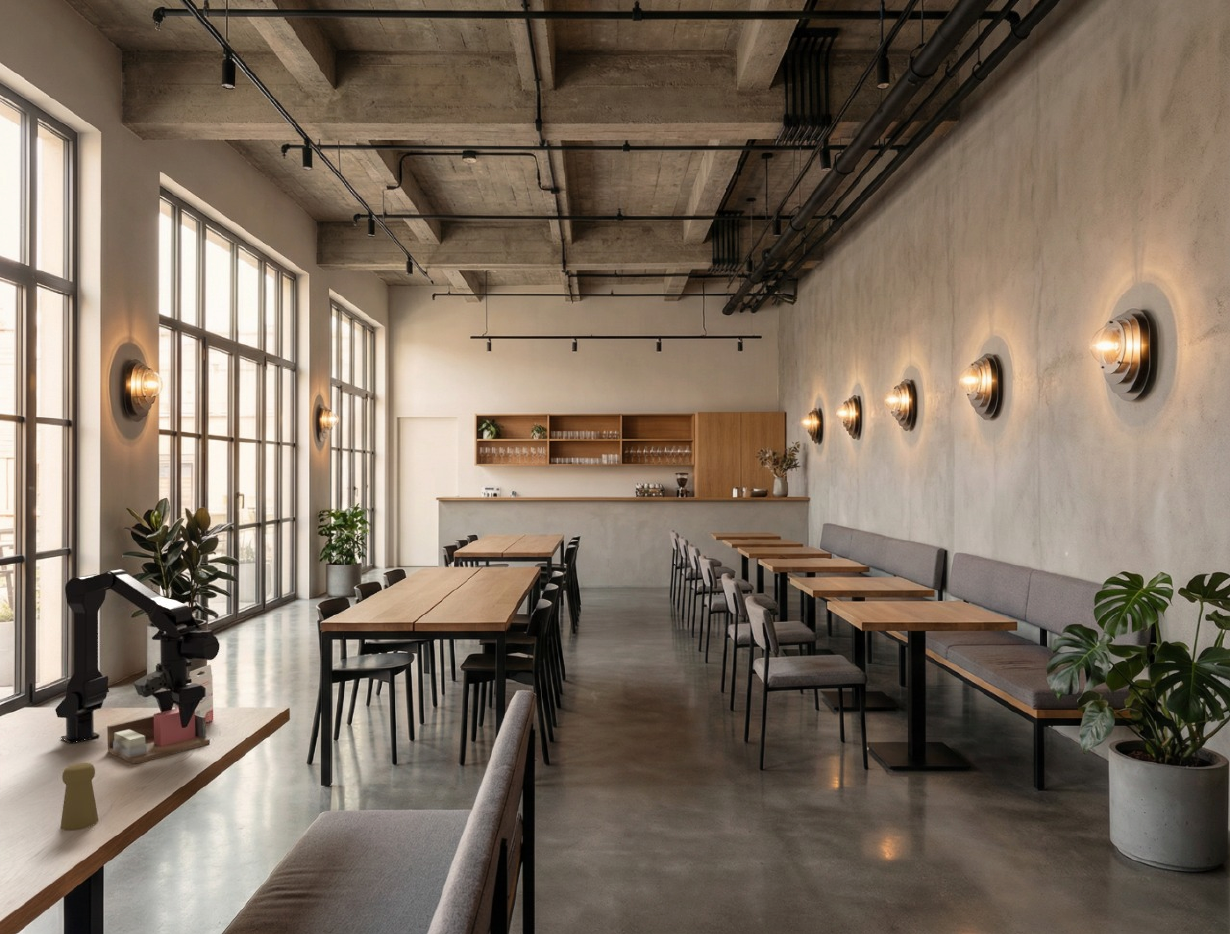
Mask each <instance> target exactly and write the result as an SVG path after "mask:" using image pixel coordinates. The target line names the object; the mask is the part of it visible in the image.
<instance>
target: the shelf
mask: <svg viewBox="0 0 1230 934" xmlns="http://www.w3.org/2000/svg"><path fill="white" fill-rule="evenodd" d="M208 743H210V744H211V739H210V738H207V736H206V724H205V717H204V716H201V715H198V714H195V738H192V739H188V740H184V741H180V742H176V743H173V744H169V745H165V746H158V745H156V744H154V714H152V715H147V716H145V717H140V718H134V719H131V720H130V719H129V720H126V721H122V722H118V723H113V724H108V725H107V752H108V751H109V752H108V753H110V752H111V754H112V753H113V754H112V755H114V754H115V755H114V756H116V755H117V756H116V757H118V756H119V758H120V757H121V758H120V759H122V758H123V760H124V759H125V760H124V761H127V762H129V763H132V764H133V763H137V764H139V763H140V764H141V763H143V762H147V761H151V759H152V760H154V759H159V758H162V756H163V757H166V756H169V755H173V754H177V753H180V752H179V751H181V752H184V751H183V750H185V751H188V750H187V749H189V750H191V748H192V749H195V747H196V748H198V747H199V746H200V747H202V745H203V746H206V745H205V744H207V745H209V744H208ZM176 752H177V753H176Z"/></svg>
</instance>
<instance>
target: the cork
mask: <svg viewBox="0 0 1230 934" xmlns="http://www.w3.org/2000/svg"><path fill="white" fill-rule="evenodd" d="M95 774H96V768H95V766H94V764H92V763H90V762H76V763H72V764H70V765H68V766H67V767H65V768H64V769H63V771H62V777H61V778H62V783H63V784H64V785H65V789H64V791H65V792H64V800H63V804H62V813H61V822H60V829H61V830H63V831H71V832H72V831H78V830H82V829H86V827H87V828H89V826H90V827H92V826H94V825H95V824H97V823H98V822H99V815H98V809H97V803H96V797H95V792H94V785H93V779H94V778H95V776H96V775H95ZM97 821H98V822H97ZM96 822H97V823H96ZM93 824H94V825H93ZM91 825H92V826H91Z"/></svg>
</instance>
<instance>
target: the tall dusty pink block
mask: <svg viewBox="0 0 1230 934" xmlns="http://www.w3.org/2000/svg"><path fill="white" fill-rule="evenodd" d="M153 715H154V744H156V745H158V746H165V745H169V744H173V743H176V742H180V741H184V740H188V739H192V738H195V711H194V713H193V715H192V718H191V720H190V722H189V724H188V726H187V727H185V728H182V726H181V721H180V715H179V708H177V709H175V708H174V709H173V708H172V710H168V711H164V712H161V711H160V712H156V713H153Z"/></svg>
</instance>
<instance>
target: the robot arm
mask: <svg viewBox="0 0 1230 934" xmlns="http://www.w3.org/2000/svg"><path fill="white" fill-rule="evenodd" d="M64 589H65V592H64V593H65V598H66V603H67V605H68V607H69V608H70V609H71V611H72V612H73V615H74V616H73V617H74V618H73V621H74V624H73V626H74V629H73V633H74V635H73V637H74V638H73V642H74V643H73V645H74V646H73V647H74V648H73V649H74V651H73V652H74V653H73V655H74V660H73V661H74V664H73V665H74V666H73V667H74V670H73V673H72V676H71V677H70V679H69V681H68V683H67V686H66V692H65V698H64V699H62V701H61V702H60V703H59V704H58V705H57V706H56V708H55V709H54V712H55V714H56V716H57V718H63V719H65V735H62V736H60V739H61V738H62V739H65V740H66V741H68V742H70V743H69V744H74V743H73V742H75V743H77V742H76V741H80V742H82V741H81V740H84V739H88V740H90V739H89V738H92V739H95V738H99V737H100V736H101V735H100V733H97V732H95V729H94V726H95V725H94V724H95V723H94V722H95V721H94V718H95V717H94V711H97V710H100V709H102V707H103V705H104V701H105V700H106V698H107V695H108V693H109V692H110V690H109V676H108V675H104V674H102V673H101V671H100V669H99V610H100V609H101V607H102V605H103V604H104V601H105V599H106V594H107V591H109V590H112V591H113V592H115V593H116V594H118V595H119V596H121V597H122V598H123V599H125V600H126V601H128V602H129V603H131V604H132V605H134V606H135V607H137V608H138V609H140V610H141V611H143V612H144V613H145V614H146V615H147V617H148V620H149V621H150V623H151V624H152V625H153V626H154V627H155V628H156V629H157V630H158V631H157V632H156V633H155V634H154V635H153V636H152V637H151V640H152V641H160V644H159V645H160V662H158V663H157V664H156V665H155V670H154V671H153V672H150V673H148V674H146V675H145V676H142V677H141V678H139V679H137V680H135V681H134V682H133V685H134V688H135V690H136V693H137V695H138V696H142V697H144V698H148V697H152V698H154V700H156V703H157V705H158V709H159V711H160V712H164V711H168V710H173V708H174V706H175V705H177V706H178V708H179V715H180V721H181V726H182V728H185V727H187V726H188V724H189V722H190V720H191V718H192V715H193V713H194V711H195V709H196V708H197V706H198V704H199V702H200V700H202V699H203V697H205V696H206V688H205V687H203V686H202V685H199V684H196V683H193V684H189V683H192V681H191V679H190V677H189V668H188V667H192V661H189V660H199V661H200V660H201V661H212V660H214V659H216V657H217V656H218V653H219V651H220V644H221V643H220V642H219V639H218V638H217V637H216V636H215V635H214V630H210V629H209V630H202V627H201V625H200V624H199V623H198V620H196V618H195V617H194V615H193V614H192V612H191V611H192V609H191V608H190V606H188V605H187V604H185V603H182V602H180V601H179V600H176V599H170V598H166V597H164V596H161V595H160V594H158V593H157V592H154V590H152V589H150V588H149V587H147V586H146V585H144V584H143V583H141V582H140V581H138V580H137V579H136V578H134V577H133V576H131V575H130V574H128V572H127V571H126V570H124V569H120V568H118V569H115V570H114V569H113V570H108V571H105V572H103V573H100V574H99V573H98V574H97V573H95V574H89V575H82V576H76V577H71V578H70V579H69V580H68V582H66V583H65V587H64ZM186 684H189V685H186ZM62 739H61V740H62ZM66 741H65V742H66ZM84 741H85V740H84ZM68 742H67V743H68Z"/></svg>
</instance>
